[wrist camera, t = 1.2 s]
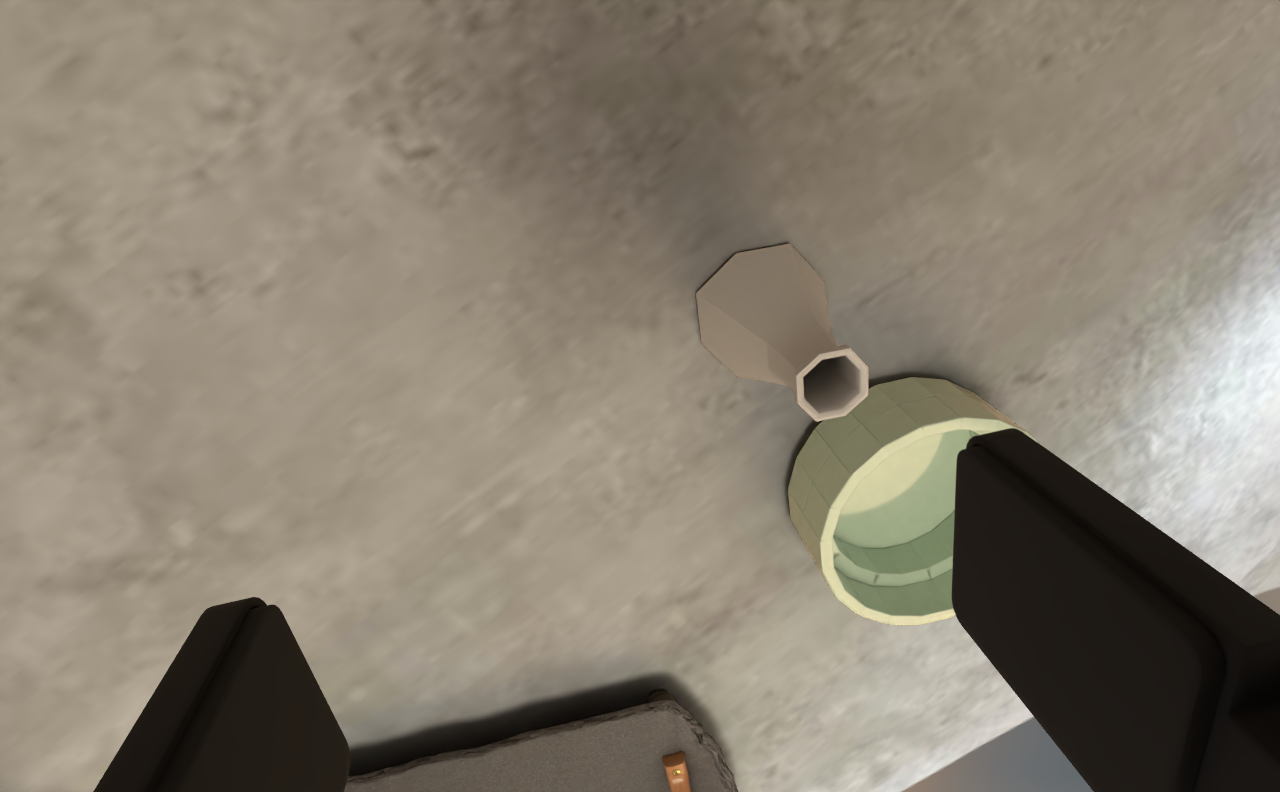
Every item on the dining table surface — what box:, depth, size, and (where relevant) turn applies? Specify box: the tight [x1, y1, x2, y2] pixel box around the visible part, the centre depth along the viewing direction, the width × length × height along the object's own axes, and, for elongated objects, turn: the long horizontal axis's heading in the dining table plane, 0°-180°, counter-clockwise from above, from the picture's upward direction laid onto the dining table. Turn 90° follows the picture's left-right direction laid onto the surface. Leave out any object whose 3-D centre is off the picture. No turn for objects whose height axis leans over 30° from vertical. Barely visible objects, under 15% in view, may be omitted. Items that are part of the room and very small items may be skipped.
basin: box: [788, 377, 1038, 625], centre depth 41 cm, size 13×13×6 cm
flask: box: [696, 244, 868, 422], centre depth 33 cm, size 7×7×10 cm
